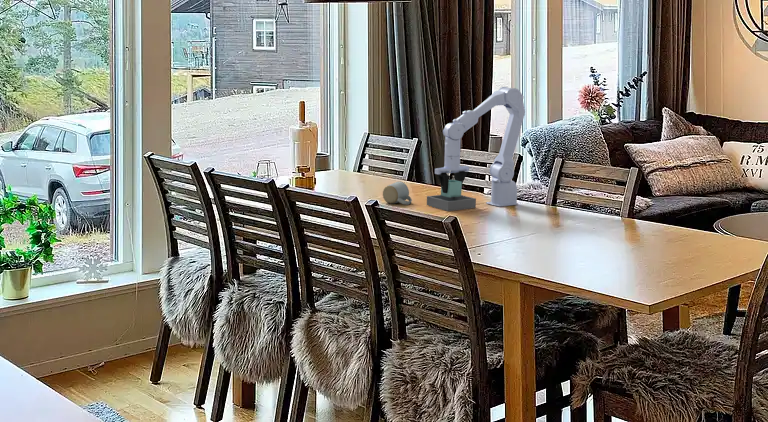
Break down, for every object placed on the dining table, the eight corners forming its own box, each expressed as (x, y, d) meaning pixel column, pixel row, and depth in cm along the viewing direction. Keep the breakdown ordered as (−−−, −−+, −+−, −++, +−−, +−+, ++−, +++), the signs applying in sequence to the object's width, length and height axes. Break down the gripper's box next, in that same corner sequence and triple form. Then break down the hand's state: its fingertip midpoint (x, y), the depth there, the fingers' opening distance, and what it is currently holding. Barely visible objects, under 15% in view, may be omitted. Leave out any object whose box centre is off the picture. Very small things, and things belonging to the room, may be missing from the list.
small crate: (452, 194, 355) (452, 179, 354) (461, 196, 351) (461, 181, 350) (440, 195, 352) (441, 180, 351) (449, 197, 348) (450, 182, 347)
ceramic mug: (380, 203, 358) (381, 183, 356) (392, 199, 365) (393, 180, 363) (404, 206, 352) (405, 186, 351) (415, 203, 359) (416, 183, 357)
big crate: (454, 202, 361) (454, 193, 360) (475, 207, 350) (475, 198, 350) (426, 205, 354) (426, 196, 353) (447, 211, 343) (448, 201, 343)
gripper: (461, 153, 356) (460, 188, 358) (430, 155, 348) (429, 192, 350) (472, 155, 350) (471, 191, 352) (441, 158, 342) (440, 194, 345)
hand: (451, 192), depth 351 cm, fingers closed on small crate, 5 cm apart
